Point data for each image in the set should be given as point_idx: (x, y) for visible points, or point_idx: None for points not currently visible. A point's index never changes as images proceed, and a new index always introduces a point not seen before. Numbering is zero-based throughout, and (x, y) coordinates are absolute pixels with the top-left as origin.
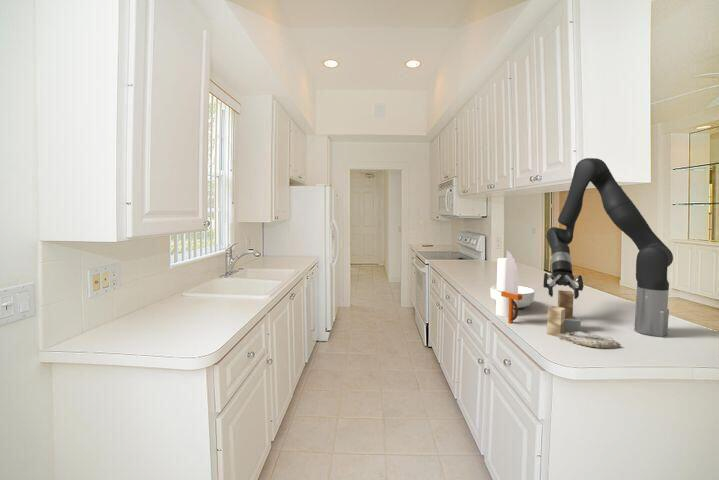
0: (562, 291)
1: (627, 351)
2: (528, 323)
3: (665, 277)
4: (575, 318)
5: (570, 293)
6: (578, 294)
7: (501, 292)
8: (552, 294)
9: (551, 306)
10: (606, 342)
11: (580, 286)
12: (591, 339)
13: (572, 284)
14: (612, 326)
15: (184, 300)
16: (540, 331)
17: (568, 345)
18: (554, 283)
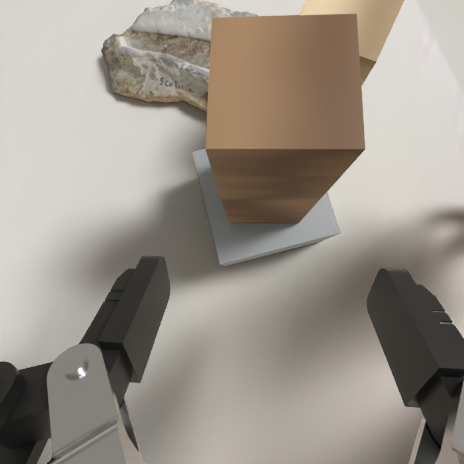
0: (320, 97)
1: (99, 29)
2: (416, 239)
3: None
4: (209, 186)
5: (242, 29)
6: (119, 282)
7: None
8: (385, 268)
9: (381, 42)
10: (150, 9)
11: (11, 381)
12: (196, 11)
13: (115, 422)
14: (32, 332)
15: None
16: (365, 134)
17: (277, 12)
18: (444, 457)
